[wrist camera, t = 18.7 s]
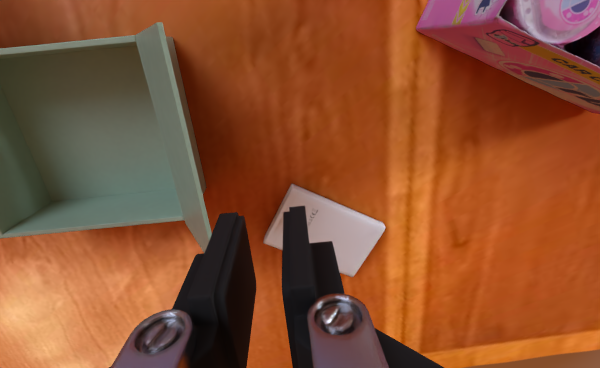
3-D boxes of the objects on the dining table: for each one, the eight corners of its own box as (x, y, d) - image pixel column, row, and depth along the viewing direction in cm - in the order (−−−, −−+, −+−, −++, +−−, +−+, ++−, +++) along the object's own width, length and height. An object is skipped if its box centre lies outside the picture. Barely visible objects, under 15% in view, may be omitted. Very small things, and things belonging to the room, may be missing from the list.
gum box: (654, 45, 33) (879, 46, 20) (600, 118, 36) (769, 157, 23) (454, -61, 29) (584, -141, 16) (411, 31, 31) (493, 23, 19)
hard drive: (350, 270, 43) (263, 237, 40) (382, 221, 40) (291, 182, 37) (352, 278, 41) (262, 244, 39) (386, 228, 38) (292, 188, 36)
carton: (-14, 55, 31) (-99, 58, 24) (172, 36, 31) (140, 34, 24) (52, 203, 37) (-1, 238, 30) (206, 187, 37) (188, 220, 30)
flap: (156, 22, 16) (162, 22, 17) (135, 35, 23) (139, 35, 24) (216, 272, 23) (220, 270, 23) (185, 223, 30) (188, 222, 30)
